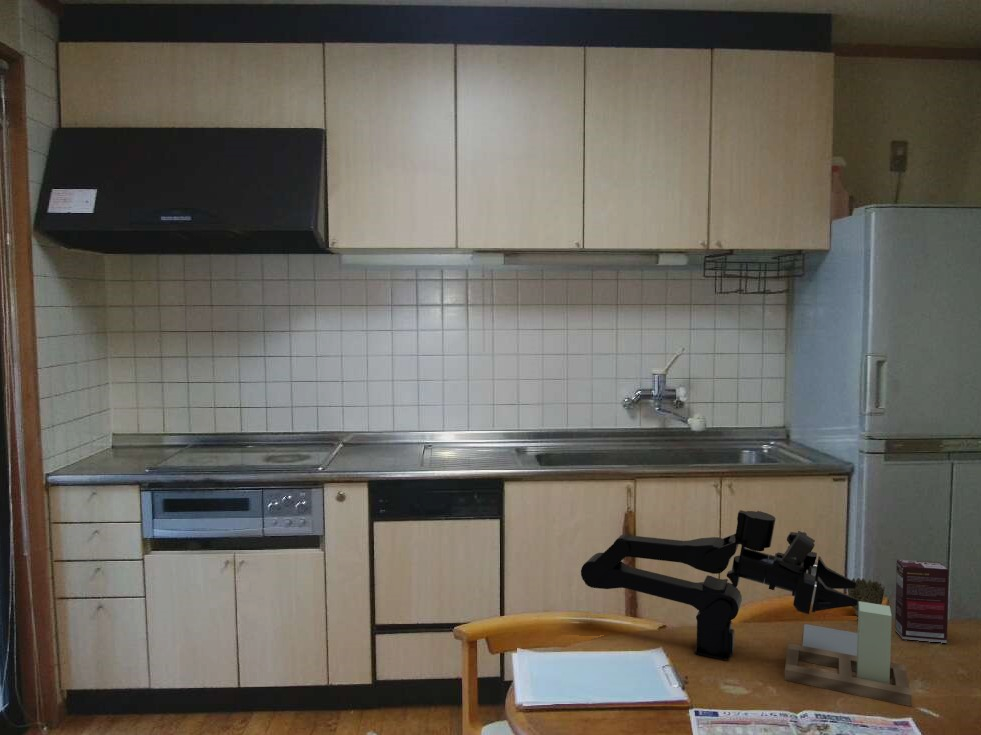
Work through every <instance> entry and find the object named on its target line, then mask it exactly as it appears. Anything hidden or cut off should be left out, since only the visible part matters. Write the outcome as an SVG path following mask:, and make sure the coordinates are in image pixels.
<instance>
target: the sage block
mask: <svg viewBox="0 0 981 735" xmlns="http://www.w3.org/2000/svg"><path fill="white" fill-rule="evenodd" d="M892 615H893V614H892V612H891V607H890V605H886V604H885V605H884V604H882V605H880V604H873V603H867V602H860V601H859V608H858V617H857V633H858V641H857V672H855V673H856V674H857V675H856V678H860V679H865V680H870V681H875V682H880V683H885V684H890V679H891V678H890V662H891V647H892V646H891V644H892V619H893V618H892Z"/></svg>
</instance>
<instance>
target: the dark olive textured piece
mask: <svg viewBox="0 0 981 735" xmlns="http://www.w3.org/2000/svg"><path fill="white" fill-rule="evenodd" d="M851 580H852V581H854V582H855V583H856V587H855V588H853V589H847V595H849V596H851V597H853V598H856V599H857V600H858V603H857V605H856V606H851V608H852V609H853V610H854V611H855V613H854V614H855V616H856V618H858V608H859V601H860V602H867V603H873V604H880V605H883V601H884V595H885V593H884V592H885V588H886V586H885V585H884V586H883V587H882V583H881V582H880V583H879V581H878V580H875V581H872V580H871V579H868V581H867V580H866V579H865V578H862V579H860V578H859V577H857V578H856V580H855V577H853V578H852V579H851Z"/></svg>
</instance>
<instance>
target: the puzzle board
mask: <svg viewBox="0 0 981 735" xmlns="http://www.w3.org/2000/svg"><path fill="white" fill-rule="evenodd" d="M785 658H786V659H785V666H784V681H788V682H793V683H796V684H802V685H807V686H812V687H816V688H820V689H825V690H831V691H836V692H841V693H845V694H850V695H855V696H860V697H863V698H864V697H865V698H869V699H874V700H879V701H884V702H888V703H894V704H898V705H903V706H907V707H912V693H911V688H910V684H909V681H908V680H909V679H908V674H907V670H906V666H905V664H902V663H901V664H900V663H895V662H893V661H892V662H891V661H890V679H891V678H893V679H892V681H893V684H891V683H889V684H885V683H880V682H875V681H870V680H865V679H860V678H857V677H855V676H853V675H852V672H855V673H857V656H854V655H849V654H844V653H838V652H833V651H827V650H822V649H817V648H811V647H806V646H802V644H801V645H799V644H794V643H789V642H788V645H787V651H786V657H785ZM799 662H805V663H810V664H816V665H820V666H825V667H831V668H835V669H838V673H835V672H829V671H824V670H819V669H815V668H809V667H804V666H801V665H800V666H799ZM851 670H852V671H851Z"/></svg>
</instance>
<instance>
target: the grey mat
mask: <svg viewBox="0 0 981 735" xmlns="http://www.w3.org/2000/svg"><path fill="white" fill-rule="evenodd" d="M857 641H858V632H853V631H847V630H841V629H836V628H835V629H834V628H830V627H824V626H819V625H812V624H806V623H804V625H803V636H802V644H801V646H806V647H811V648H817V649H822V650H827V651H833V652H838V653H844V654H849V655H854V656H857Z"/></svg>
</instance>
